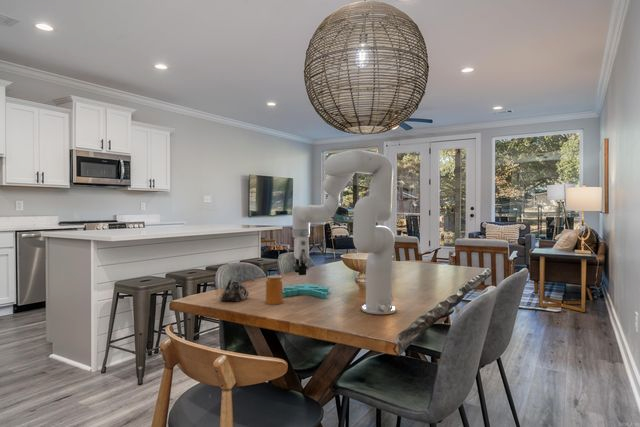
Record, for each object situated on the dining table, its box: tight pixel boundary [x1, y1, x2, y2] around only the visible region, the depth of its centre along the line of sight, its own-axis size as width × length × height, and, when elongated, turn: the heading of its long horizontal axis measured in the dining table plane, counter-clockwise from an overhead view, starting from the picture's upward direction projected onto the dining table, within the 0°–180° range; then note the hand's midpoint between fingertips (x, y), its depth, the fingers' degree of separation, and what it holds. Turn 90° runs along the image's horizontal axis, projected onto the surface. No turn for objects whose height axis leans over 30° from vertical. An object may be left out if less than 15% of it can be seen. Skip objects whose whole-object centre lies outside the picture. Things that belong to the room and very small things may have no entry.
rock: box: [219, 278, 250, 302], centre depth 169 cm, size 13×10×10 cm
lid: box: [292, 263, 309, 271], centre depth 181 cm, size 7×7×2 cm
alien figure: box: [282, 283, 330, 299], centre depth 184 cm, size 20×2×20 cm
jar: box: [265, 275, 284, 305], centre depth 165 cm, size 7×7×10 cm
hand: (300, 273), depth 181 cm, fingers closed on lid, 6 cm apart
